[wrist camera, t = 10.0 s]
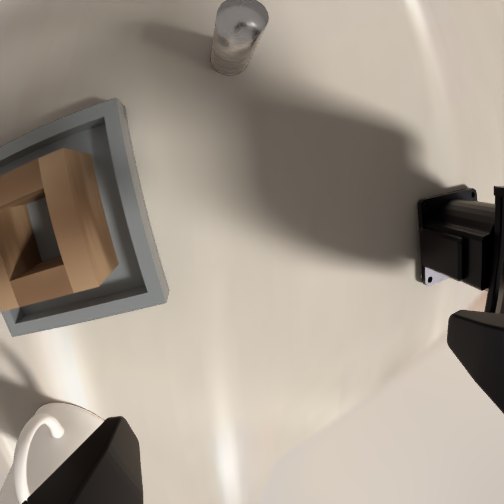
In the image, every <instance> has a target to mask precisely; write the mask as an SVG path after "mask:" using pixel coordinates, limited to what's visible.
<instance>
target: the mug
mask: <svg viewBox="0 0 504 504" xmlns="http://www.w3.org/2000/svg"><path fill="white" fill-rule="evenodd" d="M103 422H104V420H103V419H101V418H100V417H98V416H97V415H95V414H93V413H91V412H89V411H87V410H85V409H83V408H80V407H77V406H74V405H71V404H66V403H49V404H45V405H43V406H41V407H40V408H39V409H38V410H37V411H36V412H35V414H34V416H33V417H32V418H31V419H29V421H28V422H27V423H26V424H25V426H24V427H23V429H22V431H21V433H20V435H19V438H18V441H17V444H16V448H15V453H14V461H13V464H12V467H11V469H10V471H9V473H8V475H7V478H6V480H5V482H4V485H3V487H2V489H1V491H0V504H22V503H23V502H24V501H25V500H27V498H28V497H29V496H30V495H31V494H32V493H33V492H34V491H35V490H36V489H37V488H38V487H39V486H40V485H41V484H42V483H43V482H44V481H45V480H46V479H47V478H48V477H49V476H50V475H51V474H52V473H53V472H54V471H55V470H56V469H57V468H58V467H59V466H60V465H61V464H62V463H63V462H64V461H65V460H66V459H67V458H68V457H69V456H70V455H71V454H72V453H73V452H74V451H75V450H76V449H77V448H78V447H79V446H80V445H81V444H82V443H83V442H84V441H85V440H86V439H87V438H88V437H89V436H90V435H91V434H92V433H93V432H94V431H95V430H96V429H97V428H98V427H99V426H100V425H101V424H102V423H103Z"/></svg>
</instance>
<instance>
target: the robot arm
mask: <svg viewBox="0 0 504 504" xmlns="http://www.w3.org/2000/svg"><path fill="white" fill-rule="evenodd" d="M494 195H495V204H491V203H484V202H478V201H477V193H476V190H475V189H473V188H467V189H463V190H458V191H454V192H450V193H445V194H441V195H436V196H432V197H428V198H423V199H421V200H420V201H419V202H418V215H419V227H420V240H421V259H422V282H423V284H425V285H427V286H431V285H434V284H436V283H438V282H441V281H443V280H445V279H448V278H452V279H454V280H457V281H461V282H464V283H466V284H468V285H470V286H473V287H475V288H477V289H479V290H481V291H483V290H486V291H488V294H487V300H486V306H485V311H484V312H477V311H468V310H459V311H457V312H455V313H454V314H452V315H451V316H450V317H449V321H448V333H447V343H448V346H449V347H450V349H451V350H452V351H453V353H454V354H455V355H456V357H457V358H458V359H459V361H460V362H461V363H462V365H463V366H464V367H465V369H466V370H467V371H468V373H469V374H470V375H471V377H472V378H473V379H474V381H475V382H476V383H477V384H478V385H479V386H480V387H481V389H482V390H483V391H484V392H485V393H486V394H487V395H488V396H489V397H490V399H491V400H492V401H493V402H494V403H495V404H496V405H497V407H498V408H499V409H500V410H501V411H502V412H503V413H504V186H494ZM424 204H425V208H424ZM428 278H429V280H428ZM22 504H143V485H142V475H141V462H140V448H139V442H138V439H137V437H136V435H135V434H134V432H133V431H132V429H131V427H130V426H129V424H128V422H127V421H126V419H125V418H124V417H122V416H117V417H109V418H107V419H106V420H105V421H104V422H103V423H102V424H101V425H100V426H99V427H98V428H97V429H96V430H95V431H94V432H93V433H92V434H91V435H90V436H89V437H88V438H87V439H86V440H85V441H84V442H83V443H82V444H81V445H80V446H79V447H78V448H77V449H76V450H75V451H74V452H73V453H72V454H71V455H70V456H69V457H68V458H67V459H66V460H65V461H64V462H63V463H62V464H61V465H60V466H59V467H58V468H57V469H56V470H55V471H54V472H53V473H52V474H51V475H50V476H49V477H48V478H47V479H46V480H45V481H44V482H43V483H42V484H41V485H40V486H39V487H38V488H37V489H36V490H35V491H34V492H33V493H32V494H31V495H30V496H29V497H28V498H27V500H25V501H24V502H23V503H22Z"/></svg>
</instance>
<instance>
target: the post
mask: <svg viewBox="0 0 504 504" xmlns="http://www.w3.org/2000/svg"><path fill="white" fill-rule="evenodd" d="M268 19H269V17H268V12H267V10H266V8H265V7H264V6H263V5H262V4H261V3H260V2H258V1H256V0H226V1H225V2H223V3H222V4H221V5H220V7H219V9H218V11H217V17H216V24H215V31H214V38H213V45H212V53H211V63H212V66H213V67H214V69H215V70H216V71H218V72H219V73H221V74H224V75H236V74H239V73H241V72H242V71H243V70H244V69H245V68H246V67H247V65H248V63H249V60H250V58H251V56H252V54H253V52H254V50H255V48H256V46H257V44H258V41H259V39H260V37H261V35H262V33H263V31H264V29H265V27H266V25H267V23H268Z"/></svg>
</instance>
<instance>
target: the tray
mask: <svg viewBox="0 0 504 504" xmlns="http://www.w3.org/2000/svg"><path fill="white" fill-rule="evenodd" d="M62 148H66V149H70V150H75V151H79V152H83V153H88V154H91V155H92V160H93V165H94V170H95V174H96V179H97V183H98V188H99V192H100V196H101V200H102V205H103V209H104V212H105V216H106V220H107V224H108V228H109V231H110V235H111V238H112V242H113V245H114V249H115V252H116V255H117V259H118V262H119V265H118V266H117V267H116V268H115V269H114V270H113V271H112V273H111V274H110V275H109V276H108V277H107V278H106V279H105V280H104V282H103V283H102V284H101V285H100V286H99V287H96V288H92V289H88V290H84V291H80V292H76V293H73V294H69V295H65V296H61V297H57V298H53V299H49V300H45V301H42V302H38V303H34V304H30V305H26V306H22V307H19V308H15V309H11V310H7V311H3V312H2V311H1V312H2V315H3V317H4V320H5V322H6V324H7V327H8V329H9V331H10V333H11V336H12V337H15V336H20V335H25V334H30V333H34V332H39V331H44V330H49V329H54V328H58V327H63V326H68V325H72V324H77V323H81V322H86V321H90V320H95V319H99V318H104V317H108V316H113V315H117V314H121V313H126V312H130V311H134V310H139V309H143V308H147V307H151V306H155V305H160V304H164V303H166V302H167V298H168V294H169V288H168V284H167V281H166V278H165V275H164V271H163V268H162V265H161V261H160V258H159V254H158V251H157V247H156V243H155V240H154V236H153V232H152V229H151V225H150V221H149V217H148V213H147V209H146V205H145V201H144V197H143V193H142V189H141V185H140V180H139V176H138V172H137V167H136V162H135V158H134V153H133V148H132V143H131V138H130V133H129V128H128V123H127V117H126V112H125V106H124V105H123V104H122V103H121V102H120V101H119V100H118V99H117V98H114V99H111V100H108V101H105V102H102V103H99V104H97V105H94V106H91V107H88V108H86V109H83V110H80V111H78V112H75V113H73V114H70V115H68V116H65V117H63V118H60V119H58V120H56V121H53V122H51V123H49V124H46V125H44V126H42V127H40V128H38V129H35V130H33V131H31V132H29V133H27V134H25V135H23V136H21V137H19V138H17V139H15V140H13V141H11V142H9V143H7V144H5V145H3V146H1V147H0V176H2V175H4V174H6V173H8V172H10V171H12V170H14V169H16V168H18V167H20V166H23V165H25V164H27V163H29V162H31V161H34V160H36V159H38V158H40V157H43V156H45V155H47V154H50V153H52V152H54V151H57V150H59V149H62ZM27 208H28V213H29V217H30V221H31V225H32V229H33V232H34V236H35V240H36V243H37V247H38V250H39V253H40V257H41V260H42V261H45V260H49V259H52V258H55V257H58V256H61V253H60V250H59V247H58V243H57V240H56V236H55V233H54V229H53V225H52V222H51V218H50V214H49V210H48V205H47V201H46V197H43V198H41V199H38V200H36V201H33V202H31V203H28V204H27ZM0 310H1V308H0Z"/></svg>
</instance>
